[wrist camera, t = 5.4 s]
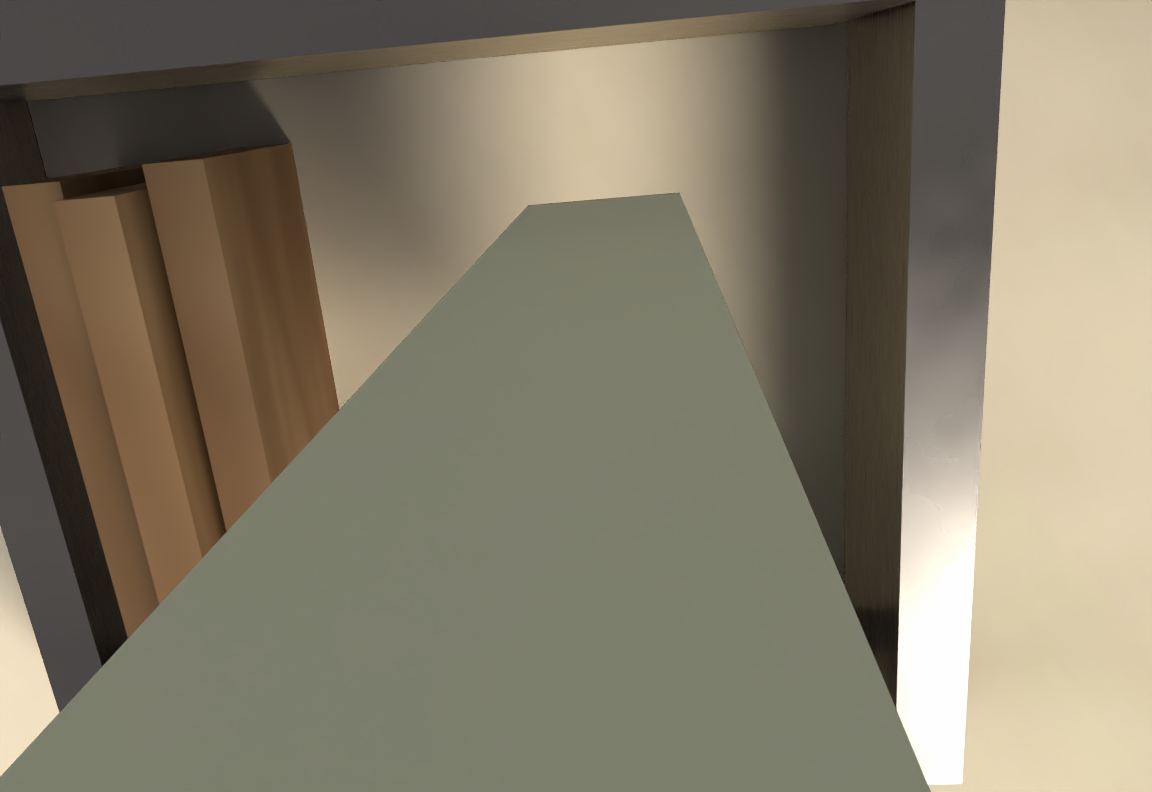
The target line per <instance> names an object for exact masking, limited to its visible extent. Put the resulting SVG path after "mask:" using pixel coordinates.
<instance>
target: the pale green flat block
mask: <svg viewBox="0 0 1152 792" xmlns="http://www.w3.org/2000/svg"><path fill="white" fill-rule="evenodd" d="M0 792H931V791H930V789H929V786H928V784H927V781H926V779H925V777H924V774H923V772H922V769H921V767H920V765H919V762H918V760H917V758H916V755H915V753H914V750H913V748H912V746H911V743H910V741H909V739H908V736H907V734H906V731H905V729H904V727H903V724H902V722H901V720H900V717H899V715H898V712H897V710H896V708H895V705H894V703H893V700H892V698H891V696H890V693H889V691H888V689H887V686H886V684H885V681H884V679H883V677H882V674H881V672H880V670H879V667H878V665H877V662H876V660H875V658H874V655H873V653H872V650H871V648H870V646H869V643H868V641H867V639H866V636H865V634H864V631H863V629H862V627H861V624H860V622H859V620H858V617H857V615H856V612H855V610H854V608H853V605H852V603H851V600H850V598H849V596H848V593H847V591H846V589H845V586H844V584H843V581H842V579H841V577H840V574H839V572H838V570H837V567H836V565H835V562H834V560H833V558H832V555H831V553H830V551H829V548H828V546H827V543H826V541H825V539H824V536H823V534H822V531H821V529H820V527H819V524H818V522H817V520H816V517H815V515H814V512H813V510H812V508H811V505H810V503H809V501H808V498H807V496H806V493H805V491H804V489H803V486H802V484H801V481H800V479H799V477H798V474H797V472H796V470H795V467H794V465H793V462H792V460H791V458H790V455H789V453H788V451H787V448H786V446H785V443H784V441H783V439H782V436H781V434H780V432H779V429H778V427H777V424H776V422H775V420H774V417H773V415H772V412H771V410H770V408H769V405H768V403H767V401H766V398H765V396H764V393H763V391H762V389H761V386H760V384H759V382H758V379H757V377H756V374H755V372H754V370H753V367H752V365H751V362H750V360H749V358H748V355H747V353H746V351H745V348H744V346H743V343H742V341H741V339H740V336H739V334H738V332H737V329H736V327H735V324H734V322H733V320H732V317H731V315H730V312H729V310H728V308H727V305H726V303H725V301H724V298H723V296H722V293H721V291H720V289H719V286H718V284H717V282H716V279H715V277H714V274H713V272H712V270H711V267H710V265H709V263H708V260H707V258H706V255H705V253H704V251H703V248H702V246H701V243H700V241H699V239H698V236H697V234H696V232H695V229H694V227H693V224H692V222H691V220H690V217H689V215H688V213H687V210H686V208H685V205H684V203H683V201H682V198H681V196H680V193H669V194H657V195H645V196H633V197H621V198H609V199H597V200H585V201H573V202H562V203H550V204H538V205H528V206H527V207H526V208H525V209H524V210H523V212H522V213H521V214H520V215H519V216H518V217H517V218H516V219H515V220H514V221H513V222H512V223H511V225H510V226H509V227H508V228H507V229H506V230H505V231H504V232H503V233H502V234H501V235H500V236H499V238H498V239H497V240H496V241H495V242H494V243H493V244H492V245H491V246H490V247H489V248H488V249H487V251H486V252H485V253H484V254H483V255H482V256H481V257H480V258H479V259H478V260H477V261H476V262H475V264H474V265H473V266H472V267H471V268H470V269H469V270H468V271H467V272H466V273H465V274H464V275H463V277H462V278H461V279H460V280H459V281H458V282H457V283H456V284H455V285H454V286H453V287H452V288H451V290H450V291H449V292H448V293H447V294H446V295H445V296H444V297H443V298H442V299H441V300H440V301H439V303H438V304H437V305H436V306H435V307H434V308H433V309H432V310H431V311H430V312H429V313H428V314H427V316H426V317H425V318H424V319H423V320H422V321H421V322H420V323H419V324H418V325H417V326H416V327H415V329H414V330H413V331H412V332H411V333H410V334H409V335H408V336H407V337H406V338H405V339H404V340H403V341H402V343H401V344H400V345H399V346H398V347H397V348H396V349H395V350H394V351H393V352H392V353H391V354H390V356H389V357H388V358H387V359H386V360H385V361H384V362H383V363H382V364H381V365H380V366H379V367H378V369H377V370H376V371H375V372H374V373H373V374H372V375H371V376H370V377H369V378H368V379H367V380H366V382H365V383H364V384H363V385H362V386H361V387H360V388H359V389H358V390H357V391H356V392H355V393H354V395H353V396H352V397H351V398H350V399H349V400H348V401H347V402H346V403H345V404H344V405H343V406H342V408H341V409H340V410H339V411H338V412H337V413H336V414H335V415H334V416H333V417H332V418H331V419H330V421H329V422H328V423H327V424H326V425H325V426H324V427H323V428H322V429H321V430H320V431H319V432H318V434H317V435H316V436H315V437H314V438H313V439H312V440H311V441H310V442H309V443H308V444H307V445H306V447H305V448H304V449H303V450H302V451H301V452H300V453H299V454H298V455H297V456H296V457H295V458H294V460H293V461H292V462H291V463H290V464H289V465H288V466H287V467H286V468H285V469H284V470H283V471H282V473H281V474H280V475H279V476H278V477H277V478H276V479H275V480H274V481H273V482H272V483H271V484H270V485H269V487H268V488H267V489H266V490H265V491H264V492H263V493H262V494H261V495H260V496H259V497H258V498H257V500H256V501H255V502H254V503H253V504H252V505H251V506H250V507H249V508H248V509H247V510H246V511H245V513H244V514H243V515H242V516H241V517H240V518H239V519H238V520H237V521H236V522H235V523H234V524H233V526H232V527H231V528H230V529H229V530H228V531H227V532H226V533H225V534H224V535H223V536H222V537H221V539H220V540H219V541H218V542H217V543H216V544H215V545H214V546H213V547H212V548H211V549H210V550H209V552H208V553H207V554H206V555H205V556H204V557H203V558H202V559H201V560H200V561H199V562H198V563H197V565H196V566H195V567H194V568H193V569H192V570H191V571H190V572H189V573H188V574H187V575H186V576H185V578H184V579H183V580H182V581H181V582H180V583H179V584H178V585H177V586H176V587H175V588H174V589H173V591H172V592H171V593H170V594H169V595H168V596H167V597H166V598H165V599H164V600H163V601H162V602H161V603H160V605H159V606H158V607H157V608H156V609H155V610H154V611H153V612H152V613H151V614H150V615H149V616H148V618H147V619H146V620H145V621H144V622H143V623H142V624H141V625H140V626H139V627H138V628H137V629H136V631H135V632H134V633H133V634H132V635H131V636H130V637H129V638H128V639H127V640H126V641H125V642H124V644H123V645H122V646H121V647H120V648H119V649H118V650H117V651H116V652H115V653H114V654H113V655H112V657H111V658H110V659H109V660H108V661H107V662H106V663H105V664H104V665H103V666H102V667H101V668H100V670H99V671H98V672H97V673H96V674H95V675H94V676H93V677H92V678H91V679H90V680H89V681H88V683H87V684H86V685H85V686H84V687H83V688H82V689H81V690H80V691H79V692H78V693H77V694H76V696H75V697H74V698H73V699H72V700H71V701H70V702H69V703H68V704H67V705H66V706H65V707H64V709H63V710H62V711H61V712H60V713H59V714H58V715H57V716H56V717H55V718H54V719H53V720H52V722H51V723H50V724H49V725H48V726H47V727H46V728H45V729H44V730H43V731H42V732H41V733H40V735H39V736H38V737H37V738H36V739H35V740H34V741H33V742H32V743H31V744H30V745H29V746H28V747H27V749H26V750H25V751H24V752H23V753H22V754H21V755H20V756H19V757H18V758H17V759H16V760H15V762H14V763H13V764H12V765H11V766H10V767H9V768H8V769H7V770H6V771H5V772H4V773H3V775H2V776H1V777H0Z"/></svg>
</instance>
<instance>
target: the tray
mask: <svg viewBox="0 0 1152 792" xmlns="http://www.w3.org/2000/svg"><path fill="white" fill-rule="evenodd" d="M1004 17H1005V0H0V526H1V529H2V532H3V535H4V538H5V541H6V545H7V548H8V551H9V554H10V557H11V560H12V564H13V567H14V570H15V573H16V576H17V579H18V583H19V586H20V589H21V592H22V595H23V598H24V602H25V605H26V608H27V611H28V614H29V617H30V621H31V624H32V627H33V630H34V633H35V636H36V640H37V643H38V646H39V649H40V652H41V655H42V659H43V662H44V665H45V668H46V671H47V674H48V678H49V681H50V684H51V687H52V690H53V693H54V696H55V700H56V703H57V706H58V709H59V712H61V711H62V710H63V709H64V707H65V706H66V705H67V704H68V703H69V702H70V701H71V700H72V699H73V698H74V697H75V696H76V694H77V693H78V692H79V691H80V690H81V689H82V688H83V687H84V686H85V685H86V684H87V683H88V681H89V680H90V679H91V678H92V677H93V676H94V675H95V674H96V673H97V672H98V671H99V670H100V668H101V667H102V666H103V665H104V664H105V663H106V662H107V661H108V660H109V659H110V658H111V657H112V655H113V654H114V653H115V652H116V651H117V650H118V649H119V648H120V647H121V646H122V645H123V644H124V642H125V641H126V640H127V639H128V636H127V633H126V629H125V626H124V622H123V619H122V615H121V611H120V608H119V604H118V601H117V597H116V594H115V590H114V586H113V583H112V579H111V576H110V572H109V569H108V565H107V561H106V558H105V554H104V551H103V547H102V544H101V540H100V536H99V533H98V529H97V526H96V522H95V519H94V515H93V511H92V508H91V504H90V501H89V497H88V494H87V490H86V486H85V483H84V479H83V476H82V472H81V469H80V465H79V461H78V458H77V454H76V451H75V447H74V444H73V440H72V436H71V433H70V429H69V426H68V422H67V419H66V415H65V411H64V408H63V404H62V401H61V397H60V394H59V390H58V386H57V383H56V379H55V376H54V372H53V369H52V365H51V361H50V358H49V354H48V351H47V347H46V344H45V340H44V336H43V333H42V329H41V326H40V322H39V319H38V315H37V311H36V308H35V304H34V301H33V297H32V294H31V290H30V286H29V283H28V279H27V276H26V272H25V269H24V265H23V261H22V258H21V254H20V251H19V247H18V244H17V240H16V236H15V233H14V229H13V226H12V222H11V219H10V215H9V211H8V208H7V204H6V201H5V197H4V194H3V190H2V186H8V185H15V184H21V183H27V182H33V181H39V180H45V179H47V178H46V175H45V171H44V167H43V163H42V160H41V156H40V152H39V148H38V144H37V141H36V137H35V133H34V129H33V125H32V122H31V118H30V114H29V110H28V106H27V103H26V101H36V100H46V99H57V98H67V97H78V96H88V95H99V94H109V93H119V92H130V91H140V90H151V89H161V88H172V87H182V86H192V85H203V84H213V83H224V82H234V81H245V80H255V79H265V78H276V77H286V76H297V75H307V74H318V73H328V72H338V71H349V70H359V69H370V68H380V67H391V66H401V65H411V64H422V63H432V62H443V61H453V60H464V59H474V58H484V57H495V56H505V55H516V54H526V53H537V52H547V51H557V50H568V49H578V48H589V47H599V46H609V45H620V44H630V43H641V42H651V41H662V40H672V39H682V38H693V37H703V36H714V35H724V34H735V33H745V32H755V31H766V30H776V29H787V28H797V27H808V26H818V25H828V24H837V23H841V22H844V21H848V103H847V290H846V476H845V589H846V591H847V593H848V596H849V598H850V600H851V603H852V605H853V608H854V610H855V612H856V615H857V617H858V620H859V622H860V624H861V627H862V629H863V631H864V634H865V636H866V639H867V641H868V643H869V646H870V648H871V650H872V653H873V655H874V658H875V660H876V662H877V665H878V667H879V670H880V672H881V674H882V677H883V679H884V681H885V684H886V686H887V689H888V691H889V693H890V696H891V698H892V700H893V703H894V705H895V708H896V710H897V712H898V715H899V717H900V720H901V722H902V724H903V727H904V729H905V731H906V734H907V736H908V739H909V741H910V743H911V746H912V748H913V750H914V753H915V755H916V758H917V760H918V762H919V765H920V767H921V769H922V772H923V774H924V777H925V779H926V781H927V784H928V785H943V784H962V776H963V758H964V740H965V722H966V704H967V686H968V668H969V650H970V632H971V614H972V596H973V577H974V559H975V541H976V523H977V505H978V487H979V469H980V451H981V433H982V415H983V397H984V378H985V360H986V342H987V324H988V306H989V288H990V270H991V252H992V234H993V216H994V197H995V179H996V161H997V143H998V125H999V107H1000V89H1001V71H1002V53H1003V35H1004Z"/></svg>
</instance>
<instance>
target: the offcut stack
mask: <svg viewBox="0 0 1152 792" xmlns="http://www.w3.org/2000/svg"><path fill="white" fill-rule="evenodd" d="M2 190H3V194H4V197H5V201H6V204H7V208H8V211H9V215H10V219H11V222H12V226H13V229H14V233H15V236H16V240H17V244H18V247H19V251H20V254H21V258H22V261H23V265H24V269H25V272H26V276H27V279H28V283H29V286H30V290H31V294H32V297H33V301H34V304H35V308H36V311H37V315H38V319H39V322H40V326H41V329H42V333H43V336H44V340H45V344H46V347H47V351H48V354H49V358H50V361H51V365H52V369H53V372H54V376H55V379H56V383H57V386H58V390H59V394H60V397H61V401H62V404H63V408H64V411H65V415H66V419H67V422H68V426H69V429H70V433H71V436H72V440H73V444H74V447H75V451H76V454H77V458H78V461H79V465H80V469H81V472H82V476H83V479H84V483H85V486H86V490H87V494H88V497H89V501H90V504H91V508H92V511H93V515H94V519H95V522H96V526H97V529H98V533H99V536H100V540H101V544H102V547H103V551H104V554H105V558H106V561H107V565H108V569H109V572H110V576H111V579H112V583H113V586H114V590H115V594H116V597H117V601H118V604H119V608H120V611H121V615H122V619H123V622H124V626H125V629H126V633H127V636H128V638H129V637H130V636H131V635H132V634H133V633H134V632H135V631H136V629H137V628H138V627H139V626H140V625H141V624H142V623H143V622H144V621H145V620H146V619H147V618H148V616H149V615H150V614H151V613H152V612H153V611H154V610H155V609H156V608H157V607H158V606H159V605H160V603H161V602H162V601H163V600H164V599H165V598H166V597H167V596H168V595H169V594H170V593H171V592H172V591H173V589H174V588H175V587H176V586H177V585H178V584H179V583H180V582H181V581H182V580H183V579H184V578H185V576H186V575H187V574H188V573H189V572H190V571H191V570H192V569H193V568H194V567H195V566H196V565H197V563H198V562H199V561H200V560H201V559H202V558H203V557H204V556H205V555H206V554H207V553H208V552H209V550H210V549H211V548H212V547H213V546H214V545H215V544H216V543H217V542H218V541H219V540H220V539H221V537H222V536H223V535H224V534H225V533H226V532H227V531H228V530H229V529H230V528H231V527H232V526H233V524H234V523H235V522H236V521H237V520H238V519H239V518H240V517H241V516H242V515H243V514H244V513H245V511H246V510H247V509H248V508H249V507H250V506H251V505H252V504H253V503H254V502H255V501H256V500H257V498H258V497H259V496H260V495H261V494H262V493H263V492H264V491H265V490H266V489H267V488H268V487H269V485H270V484H271V483H272V482H273V481H274V480H275V479H276V478H277V477H278V476H279V475H280V474H281V473H282V471H283V470H284V469H285V468H286V467H287V466H288V465H289V464H290V463H291V462H292V461H293V460H294V458H295V457H296V456H297V455H298V454H299V453H300V452H301V451H302V450H303V449H304V448H305V447H306V445H307V444H308V443H309V442H310V441H311V440H312V439H313V438H314V437H315V436H316V435H317V434H318V432H319V431H320V430H321V429H322V428H323V427H324V426H325V425H326V424H327V423H328V422H329V421H330V419H331V418H332V417H333V416H334V415H335V414H336V413H337V412H338V411H339V406H338V400H337V395H336V389H335V384H334V378H333V372H332V367H331V361H330V356H329V350H328V345H327V339H326V333H325V328H324V322H323V317H322V311H321V306H320V300H319V294H318V289H317V283H316V278H315V272H314V266H313V261H312V255H311V250H310V244H309V239H308V233H307V227H306V222H305V216H304V211H303V205H302V200H301V194H300V188H299V183H298V177H297V172H296V166H295V160H294V155H293V149H292V144H280V145H269V146H258V147H247V148H239V149H233V150H227V151H221V152H214V153H208V154H202V155H196V156H190V157H184V158H178V159H172V160H166V161H160V162H154V163H147V164H142V166H132V167H121V168H113V169H107V170H101V171H94V172H88V173H82V174H76V175H70V176H64V177H58V178H51V179H45V180H39V181H33V182H27V183H21V184H15V185H8V186H2Z"/></svg>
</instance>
